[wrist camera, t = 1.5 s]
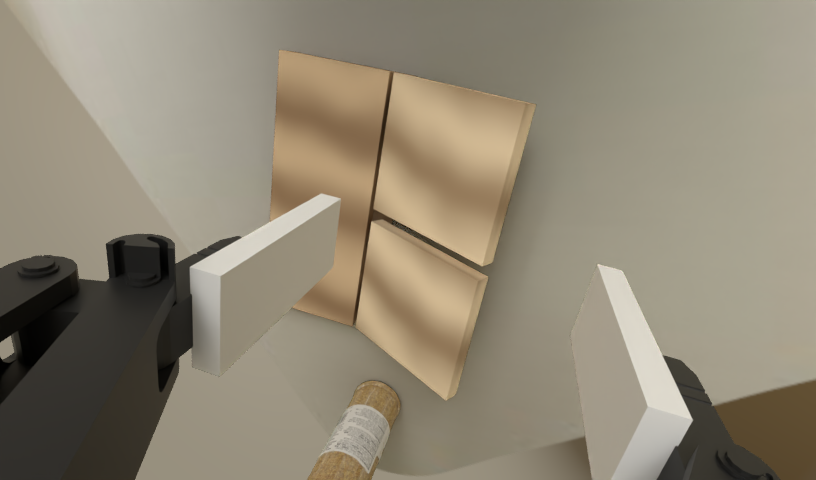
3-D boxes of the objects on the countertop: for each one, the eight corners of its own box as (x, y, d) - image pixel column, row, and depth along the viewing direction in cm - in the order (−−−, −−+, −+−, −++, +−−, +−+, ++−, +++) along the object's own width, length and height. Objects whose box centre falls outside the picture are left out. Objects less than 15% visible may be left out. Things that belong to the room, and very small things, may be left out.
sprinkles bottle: (380, 426, 41) (317, 572, 29) (345, 393, 41) (267, 527, 29) (412, 403, 40) (359, 549, 27) (376, 369, 39) (306, 500, 27)
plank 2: (382, 219, 33) (371, 221, 33) (488, 276, 27) (478, 281, 27) (365, 323, 37) (355, 327, 36) (456, 394, 31) (446, 400, 30)
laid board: (290, 51, 31) (279, 49, 30) (417, 76, 30) (411, 76, 28) (275, 291, 39) (265, 299, 38) (375, 321, 38) (369, 331, 36)
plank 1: (405, 74, 29) (393, 72, 29) (536, 104, 23) (525, 103, 23) (384, 207, 33) (373, 208, 32) (492, 262, 27) (482, 266, 26)
